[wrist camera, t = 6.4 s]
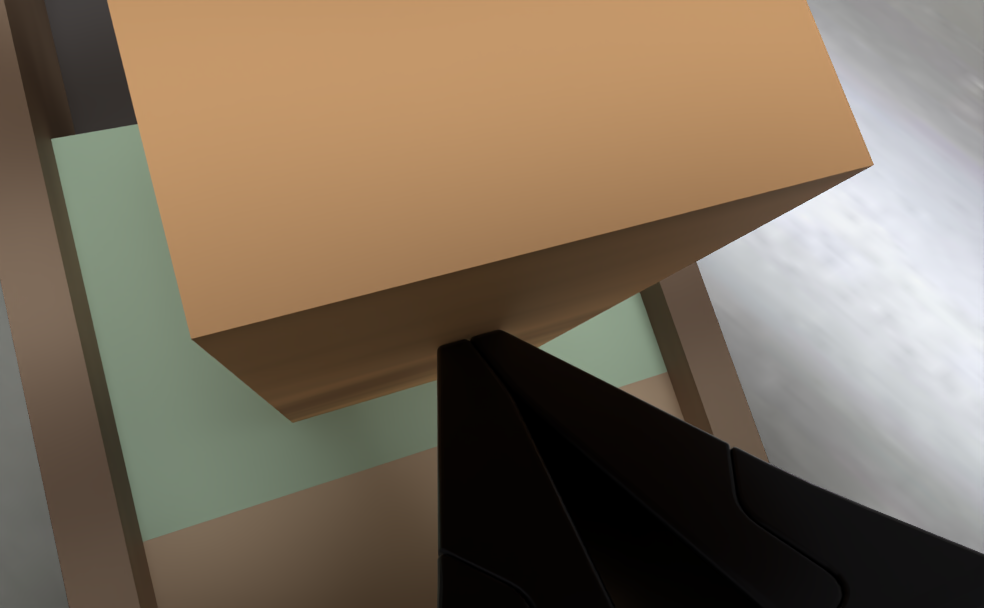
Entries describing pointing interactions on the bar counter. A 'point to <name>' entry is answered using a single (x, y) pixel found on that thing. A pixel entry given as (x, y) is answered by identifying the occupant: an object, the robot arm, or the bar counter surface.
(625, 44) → the block
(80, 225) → the pad
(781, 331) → the bar counter surface
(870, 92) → the bar counter surface
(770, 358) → the bar counter surface
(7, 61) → the tray box
